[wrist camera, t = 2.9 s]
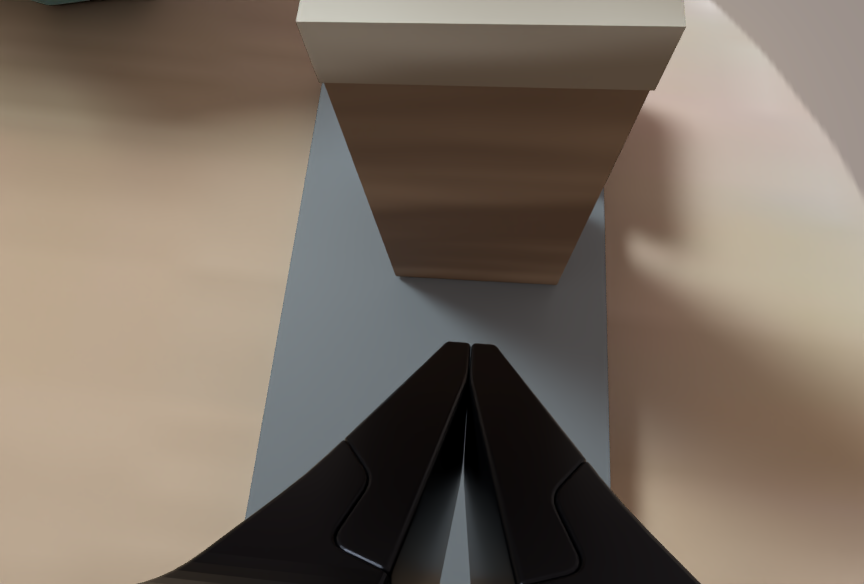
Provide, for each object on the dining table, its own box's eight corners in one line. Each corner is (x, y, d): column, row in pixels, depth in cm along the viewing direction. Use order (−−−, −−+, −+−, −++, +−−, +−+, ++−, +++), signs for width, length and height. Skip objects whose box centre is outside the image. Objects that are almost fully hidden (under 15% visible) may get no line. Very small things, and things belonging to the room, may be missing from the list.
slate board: (603, 593, 15) (636, 622, 12) (251, 557, 15) (202, 576, 13) (594, 82, 20) (615, 18, 17) (332, 76, 21) (311, 14, 18)
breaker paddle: (558, 286, 16) (685, 27, 7) (394, 277, 17) (295, 21, 7) (558, 196, 17) (671, -143, 8) (403, 190, 18) (328, -138, 8)
